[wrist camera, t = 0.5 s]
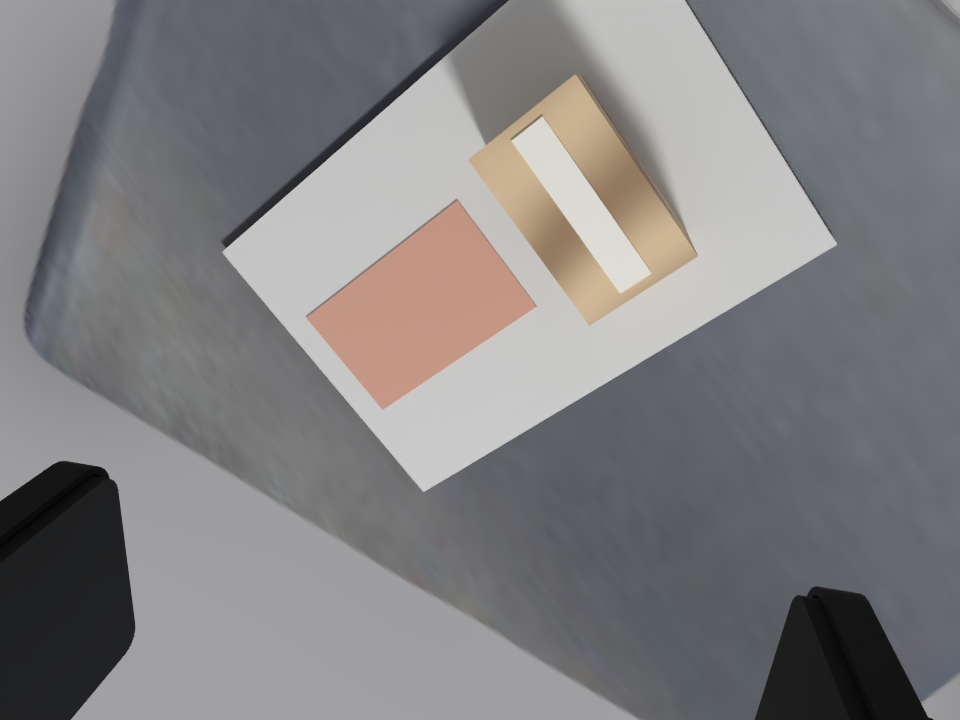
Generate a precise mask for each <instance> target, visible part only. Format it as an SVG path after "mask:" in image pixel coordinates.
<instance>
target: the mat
mask: <svg viewBox="0 0 960 720" xmlns="http://www.w3.org/2000/svg"><path fill="white" fill-rule="evenodd" d="M575 74H581V75H582V77H583V78H584V79H585V81H586V82H587V84H588V85H589V87H590V88H591V90H592V91H593V93H594V94H595V96H596V97H597V99H598V100H599V102H600V103H601V105H602V106H603V108H604V109H605V111H606V112H607V114H608V115H609V117H610V118H611V120H612V121H613V123H614V124H615V126H616V127H617V129H618V130H619V131H620V133H621V134H622V136H623V137H624V139H625V140H626V142H627V143H628V145H629V146H630V148H631V149H632V151H633V152H634V154H635V155H636V157H637V158H638V160H639V161H640V163H641V164H642V166H643V167H644V169H645V170H646V172H647V173H648V175H649V176H650V178H651V179H652V181H653V182H654V183H655V185H656V186H657V188H658V189H659V191H660V192H661V194H662V195H663V197H664V198H665V200H666V201H667V203H668V204H669V206H670V207H671V209H672V210H673V212H674V213H675V215H676V216H677V218H678V219H679V221H680V222H681V224H682V225H683V227H684V228H685V230H686V231H687V233H688V235H689V237H690V239H691V242H692V244H693V246H694V248H695V250H696V253H697V255H698V257H696V258H695V259H693V260H692V261H690V262H689V263H687V264H685V265H684V266H682V267H681V268H679V269H678V270H676V271H674V272H673V273H671V274H670V275H668V276H667V277H665V278H663V279H662V280H660V281H659V282H657V283H656V284H654V285H652V286H651V287H649V288H648V289H646V290H645V291H643V292H642V293H640V294H638V295H637V296H635V297H634V298H632V299H631V300H629V301H627V302H626V303H624V304H623V305H621V306H620V307H618V308H616V309H615V310H613V311H612V312H610V313H609V314H607V315H606V316H604V317H602V318H601V319H599V320H598V321H596V322H595V323H593V324H591V325H590V326H589V325H588V323H587V322H586V321H585V319H584V318H583V316H582V315H581V314H580V312H579V311H578V310H577V308H576V307H575V305H574V304H573V303H572V301H571V300H570V299H569V297H568V296H567V295H566V293H565V292H564V290H563V289H562V288H561V286H560V285H559V284H558V282H557V281H556V279H555V278H554V277H553V275H552V274H551V273H550V271H549V270H548V269H547V267H546V266H545V264H544V263H543V262H542V260H541V259H540V258H539V256H538V255H537V253H536V252H535V251H534V249H533V248H532V247H531V245H530V244H529V243H528V241H527V240H526V238H525V237H524V236H523V234H522V233H521V232H520V230H519V229H518V227H517V226H516V225H515V223H514V222H513V221H512V219H511V218H510V217H509V215H508V214H507V212H506V211H505V210H504V208H503V207H502V206H501V204H500V203H499V201H498V200H497V199H496V197H495V196H494V195H493V193H492V192H491V191H490V189H489V188H488V186H487V185H486V184H485V182H484V181H483V180H482V178H481V177H480V175H479V174H478V173H477V171H476V170H475V169H474V167H473V166H472V165H471V163H470V162H469V160H468V159H469V158H471V157H472V156H473V155H474V154H476V153H477V152H478V151H479V150H481V149H482V148H483V147H484V146H486V145H487V144H488V143H489V142H491V141H492V140H493V139H495V138H496V137H497V136H498V135H500V134H501V133H502V132H503V131H505V130H506V129H507V128H508V127H510V126H511V125H512V124H513V123H515V122H516V121H517V120H518V119H520V118H521V117H522V116H523V115H525V114H526V113H527V112H528V111H530V110H531V109H532V108H533V107H535V106H536V105H537V104H538V103H540V102H541V101H542V100H543V99H545V98H546V97H547V96H548V95H550V94H551V93H552V92H553V91H555V90H556V89H557V88H559V87H560V86H561V85H562V84H564V83H565V82H566V81H567V80H569V79H570V78H571V77H572V76H574V75H575ZM836 245H837V243H836V242H835V240H834V239H833V237H832V235H831V234H830V232H829V231H828V229H827V227H826V226H825V224H824V223H823V221H822V219H821V218H820V216H819V215H818V213H817V211H816V210H815V208H814V207H813V205H812V203H811V202H810V200H809V199H808V197H807V195H806V194H805V192H804V190H803V189H802V187H801V186H800V184H799V182H798V181H797V179H796V178H795V176H794V174H793V173H792V171H791V170H790V168H789V166H788V165H787V163H786V162H785V160H784V158H783V157H782V155H781V154H780V152H779V150H778V149H777V147H776V146H775V144H774V142H773V141H772V139H771V138H770V136H769V134H768V133H767V131H766V130H765V128H764V126H763V125H762V123H761V122H760V120H759V118H758V117H757V115H756V114H755V112H754V110H753V109H752V107H751V106H750V104H749V102H748V101H747V99H746V97H745V96H744V94H743V93H742V91H741V89H740V88H739V86H738V85H737V83H736V81H735V80H734V78H733V77H732V75H731V73H730V72H729V70H728V69H727V67H726V65H725V64H724V62H723V61H722V59H721V57H720V56H719V54H718V53H717V51H716V49H715V48H714V46H713V45H712V43H711V41H710V40H709V38H708V37H707V35H706V33H705V32H704V30H703V29H702V27H701V25H700V24H699V22H698V21H697V19H696V17H695V16H694V14H693V13H692V11H691V9H690V8H689V6H688V4H687V3H686V1H685V0H509V1H508V2H507V3H505V4H504V5H503V6H502V7H501V8H500V9H499V10H498V11H496V12H495V13H494V14H493V15H492V16H491V17H490V18H488V19H487V20H486V21H485V22H484V23H483V24H482V25H480V26H479V27H478V28H477V29H476V30H475V31H474V32H472V33H471V34H470V35H469V36H468V37H467V38H466V39H464V40H463V41H462V42H461V43H460V44H459V45H458V46H456V47H455V48H454V49H453V50H452V51H451V52H450V53H448V54H447V55H446V56H445V57H444V58H443V59H442V60H440V61H439V62H438V63H437V64H436V65H435V66H434V67H432V68H431V69H430V70H429V71H428V72H427V73H426V74H425V75H423V76H422V77H421V78H420V79H419V80H418V81H417V82H415V83H414V84H413V85H412V86H411V87H410V88H409V89H407V90H406V91H405V92H404V93H403V94H402V95H401V96H399V97H398V98H397V99H396V100H395V101H394V102H393V103H391V104H390V105H389V106H388V107H387V108H386V109H385V110H383V111H382V112H381V113H380V114H379V115H378V116H377V117H375V118H374V119H373V120H372V121H371V122H370V123H369V124H367V125H366V126H365V127H364V128H363V129H362V130H361V131H360V132H358V133H357V134H356V135H355V136H354V137H353V138H352V139H350V140H349V141H348V142H347V143H346V144H345V145H344V146H342V147H341V148H340V149H339V150H338V151H337V152H336V153H334V154H333V155H332V156H331V157H330V158H329V159H328V160H326V161H325V162H324V163H323V164H322V165H321V166H320V167H318V168H317V169H316V170H315V171H314V172H313V173H312V174H310V175H309V176H308V177H307V178H306V179H305V180H304V181H302V182H301V183H300V184H299V185H298V186H297V187H296V188H295V189H293V190H292V191H291V192H290V193H289V194H288V195H287V196H285V197H284V198H283V199H282V200H281V201H280V202H279V203H277V204H276V205H275V206H274V207H273V208H272V209H271V210H269V211H268V212H267V213H266V214H265V215H264V216H263V217H261V218H260V219H259V220H258V221H257V222H256V223H255V224H253V225H252V226H251V227H250V228H249V229H248V230H247V231H245V232H244V233H243V234H242V235H241V236H240V237H239V238H237V239H236V240H235V241H234V242H233V243H232V244H231V245H229V246H228V247H227V248H226V249H225V250H224V251H223V252H222V253H223V254H224V255H225V256H226V258H227V259H228V260H229V261H230V262H231V263H232V265H233V266H234V267H235V268H236V269H237V271H238V272H239V273H240V274H241V275H242V277H243V278H244V279H245V280H246V281H247V283H248V284H249V285H250V286H251V287H252V288H253V290H254V291H255V292H256V293H257V294H258V296H259V297H260V298H261V299H262V300H263V302H264V303H265V304H266V305H267V306H268V307H269V309H270V310H271V311H272V312H273V313H274V315H275V316H276V317H277V318H278V319H279V321H280V322H281V323H282V324H283V325H284V327H285V328H286V329H287V330H288V331H289V332H290V334H291V335H292V336H293V337H294V338H295V340H296V341H297V342H298V343H299V344H300V346H301V347H302V348H303V349H304V350H305V352H306V353H307V354H308V355H309V356H310V357H311V359H312V360H313V361H314V362H315V363H316V365H317V366H318V367H319V368H320V369H321V371H322V372H323V373H324V374H325V375H326V376H327V378H328V379H329V380H330V381H331V382H332V384H333V385H334V386H335V387H336V388H337V390H338V391H339V392H340V393H341V394H342V396H343V397H344V398H345V399H346V400H347V401H348V403H349V404H350V405H351V406H352V407H353V409H354V410H355V411H356V412H357V413H358V415H359V416H360V417H361V418H362V419H363V421H364V422H365V423H366V424H367V425H368V426H369V428H370V429H371V430H372V431H373V432H374V434H375V435H376V436H377V437H378V438H379V440H380V441H381V442H382V443H383V444H384V445H385V447H386V448H387V449H388V450H389V451H390V453H391V454H392V455H393V456H394V457H395V459H396V460H397V461H398V462H399V463H400V465H401V466H402V467H403V468H404V469H405V470H406V472H407V473H408V474H409V475H410V476H411V478H412V479H413V480H414V481H415V482H416V484H417V485H418V486H419V487H420V488H421V490H422V491H423V492H424V491H426V490H428V489H429V488H431V487H433V486H435V485H436V484H438V483H440V482H441V481H443V480H445V479H446V478H448V477H450V476H451V475H453V474H455V473H456V472H458V471H460V470H461V469H463V468H465V467H466V466H468V465H470V464H471V463H473V462H475V461H476V460H478V459H480V458H481V457H483V456H485V455H486V454H488V453H490V452H491V451H493V450H495V449H496V448H498V447H500V446H501V445H503V444H505V443H506V442H508V441H510V440H511V439H513V438H515V437H516V436H518V435H520V434H521V433H523V432H525V431H526V430H528V429H530V428H531V427H533V426H535V425H536V424H538V423H540V422H541V421H543V420H545V419H546V418H548V417H550V416H551V415H553V414H555V413H557V412H558V411H560V410H562V409H563V408H565V407H567V406H568V405H570V404H572V403H573V402H575V401H577V400H578V399H580V398H582V397H583V396H585V395H587V394H588V393H590V392H592V391H593V390H595V389H597V388H598V387H600V386H602V385H603V384H605V383H607V382H608V381H610V380H612V379H613V378H615V377H617V376H618V375H620V374H622V373H623V372H625V371H627V370H628V369H630V368H632V367H633V366H635V365H637V364H638V363H640V362H642V361H643V360H645V359H647V358H648V357H650V356H652V355H653V354H655V353H657V352H658V351H660V350H662V349H663V348H665V347H667V346H668V345H670V344H672V343H673V342H675V341H677V340H678V339H680V338H682V337H684V336H685V335H687V334H689V333H690V332H692V331H694V330H695V329H697V328H699V327H700V326H702V325H704V324H705V323H707V322H709V321H710V320H712V319H714V318H715V317H717V316H719V315H720V314H722V313H724V312H725V311H727V310H729V309H730V308H732V307H734V306H735V305H737V304H739V303H740V302H742V301H744V300H745V299H747V298H749V297H750V296H752V295H754V294H755V293H757V292H759V291H760V290H762V289H764V288H765V287H767V286H769V285H770V284H772V283H774V282H775V281H777V280H779V279H780V278H782V277H784V276H785V275H787V274H789V273H790V272H792V271H794V270H795V269H797V268H799V267H800V266H802V265H804V264H805V263H807V262H809V261H811V260H812V259H814V258H816V257H817V256H819V255H821V254H822V253H824V252H826V251H827V250H829V249H831V248H832V247H834V246H836Z"/></svg>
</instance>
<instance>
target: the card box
mask: <svg viewBox="0 0 960 720" xmlns="http://www.w3.org/2000/svg"><path fill="white" fill-rule="evenodd" d="M468 160H469V162H470V163H471V165H472V166H473V167H474V169H475V170H476V171H477V173H478V174H479V175H480V177H481V178H482V180H483V181H484V182H485V184H486V185H487V186H488V188H489V189H490V191H491V192H492V193H493V195H494V196H495V197H496V199H497V200H498V201H499V203H500V204H501V206H502V207H503V208H504V210H505V211H506V212H507V214H508V215H509V217H510V218H511V219H512V221H513V222H514V223H515V225H516V226H517V227H518V229H519V230H520V232H521V233H522V234H523V236H524V237H525V238H526V240H527V241H528V243H529V244H530V245H531V247H532V248H533V249H534V251H535V252H536V253H537V255H538V256H539V258H540V259H541V260H542V262H543V263H544V264H545V266H546V267H547V269H548V270H549V271H550V273H551V274H552V275H553V277H554V278H555V279H556V281H557V282H558V284H559V285H560V286H561V288H562V289H563V290H564V292H565V293H566V295H567V296H568V297H569V299H570V300H571V301H572V303H573V304H574V305H575V307H576V308H577V310H578V311H579V312H580V314H581V315H582V316H583V318H584V319H585V321H586V322H587V323H588V325H589V326H590V325H591V324H593V323H595V322H596V321H598V320H599V319H601V318H602V317H604V316H606V315H607V314H609V313H610V312H612V311H613V310H615V309H616V308H618V307H620V306H621V305H623V304H624V303H626V302H627V301H629V300H631V299H632V298H634V297H635V296H637V295H638V294H640V293H642V292H643V291H645V290H646V289H648V288H649V287H651V286H652V285H654V284H656V283H657V282H659V281H660V280H662V279H663V278H665V277H667V276H668V275H670V274H671V273H673V272H674V271H676V270H678V269H679V268H681V267H682V266H684V265H685V264H687V263H689V262H690V261H692V260H693V259H695V258H696V257H698V255H697V253H696V250H695V248H694V246H693V244H692V242H691V239H690V237H689V235H688V233H687V231H686V230H685V228H684V227H683V225H682V224H681V222H680V221H679V219H678V218H677V216H676V215H675V213H674V212H673V210H672V209H671V207H670V206H669V204H668V203H667V201H666V200H665V198H664V197H663V195H662V194H661V192H660V191H659V189H658V188H657V186H656V185H655V183H654V182H653V181H652V179H651V178H650V176H649V175H648V173H647V172H646V170H645V169H644V167H643V166H642V164H641V163H640V161H639V160H638V158H637V157H636V155H635V154H634V152H633V151H632V149H631V148H630V146H629V145H628V143H627V142H626V140H625V139H624V137H623V136H622V134H621V133H620V131H619V130H618V129H617V127H616V126H615V124H614V123H613V121H612V120H611V118H610V117H609V115H608V114H607V112H606V111H605V109H604V108H603V106H602V105H601V103H600V102H599V100H598V99H597V97H596V96H595V94H594V93H593V91H592V90H591V88H590V87H589V85H588V84H587V82H586V81H585V79H584V78H583V77H582V75H581V74H575V75H574V76H572V77H571V78H570V79H569V80H567V81H566V82H565V83H564V84H562V85H561V86H560V87H559V88H557V89H556V90H555V91H553V92H552V93H551V94H550V95H548V96H547V97H546V98H545V99H543V100H542V101H541V102H540V103H538V104H537V105H536V106H535V107H533V108H532V109H531V110H530V111H528V112H527V113H526V114H525V115H523V116H522V117H521V118H520V119H518V120H517V121H516V122H515V123H513V124H512V125H511V126H510V127H508V128H507V129H506V130H505V131H503V132H502V133H501V134H500V135H498V136H497V137H496V138H495V139H493V140H492V141H491V142H489V143H488V144H487V145H486V146H484V147H483V148H482V149H481V150H479V151H478V152H477V153H476V154H474V155H473V156H472V157H471V158H469V159H468Z"/></svg>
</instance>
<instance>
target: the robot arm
mask: <svg viewBox="0 0 960 720" xmlns="http://www.w3.org/2000/svg"><path fill="white" fill-rule="evenodd" d="M931 1H932V2H933V3H934V4H935V6H936V7H937V8H938V9H939V10H940V11H941V12H943V13H944V14H945V15H947V16H948V17H949V18H951V19H952V20H953V21H954V22H956V23H957V24H958V25H960V0H931ZM134 633H135V619H134V612H133V604H132V596H131V588H130V580H129V572H128V564H127V556H126V549H125V541H124V533H123V525H122V517H121V509H120V502H119V493H118V488H117V484H116V483H115V481H113V480H111V479H109V476H108V473H107V472H106V470H105V469H103V468H101V467H98V466H92V465H86V464H80V463H74V462H68V461H60V462H57V463H55V464H53V465H52V466H50V467H49V468H48V469H46V470H44V471H43V472H42V473H40V474H39V475H37V476H36V477H34V478H33V479H32V480H30V481H29V482H27V483H26V484H24V485H23V486H21V487H20V488H19V489H17V490H16V491H14V492H13V493H11V494H10V495H9V496H7V497H6V498H4V499H3V500H1V501H0V720H71V719H72V717H73V716H74V715H75V714H76V713H77V711H78V710H79V709H80V708H81V707H82V705H83V704H84V703H85V702H86V701H87V699H88V698H89V697H90V696H91V695H92V693H93V692H94V691H95V690H96V688H97V687H98V686H99V685H100V684H101V682H102V681H103V680H104V679H105V678H106V676H107V675H108V674H109V673H110V672H111V671H112V669H113V668H114V667H115V666H116V664H117V663H118V662H119V661H120V660H121V658H122V657H123V656H124V655H125V653H126V652H127V650H128V649H129V647H130V645H131V643H132V640H133V637H134ZM755 720H933V719H932V718H928V716H927V715H926V712H925V711H924V708H923V707H922V705H921V703H920V701H919V699H918V697H917V695H916V693H915V691H914V689H913V687H912V685H911V683H910V681H909V679H908V677H907V675H906V673H905V671H904V669H903V667H902V666H901V664H900V662H899V660H898V658H897V656H896V654H895V652H894V650H893V648H892V646H891V644H890V642H889V640H888V638H887V636H886V634H885V632H884V630H883V628H882V627H881V625H880V623H879V621H878V619H877V617H876V615H875V613H874V611H873V609H872V607H871V605H870V603H869V601H868V600H867V599H866V597H865V596H864V595H862V594H859V593H853V592H847V591H841V590H835V589H829V588H823V587H817V586H816V587H813V588H812V589H811V590H810V591H809V593H808V595H807V597H806V596H800V595H798V596H795V598H794V599H793V601H792V603H791V606H790V609H789V613H788V616H787V619H786V622H785V625H784V629H783V632H782V635H781V638H780V641H779V644H778V648H777V651H776V654H775V657H774V660H773V664H772V667H771V670H770V673H769V676H768V680H767V683H766V686H765V689H764V692H763V695H762V699H761V702H760V705H759V708H758V711H757V715H756V718H755Z"/></svg>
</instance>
